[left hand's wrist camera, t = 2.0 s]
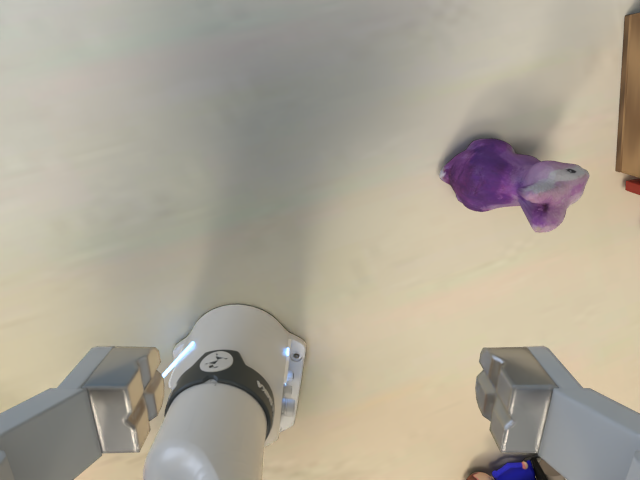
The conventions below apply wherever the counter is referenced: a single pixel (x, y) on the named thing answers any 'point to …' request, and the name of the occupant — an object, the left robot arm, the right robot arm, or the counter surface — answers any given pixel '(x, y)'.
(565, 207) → the figurine
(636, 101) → the cabinet
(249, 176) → the counter surface
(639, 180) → the drawer
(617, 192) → the counter surface
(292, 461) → the counter surface
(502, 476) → the figurine character
